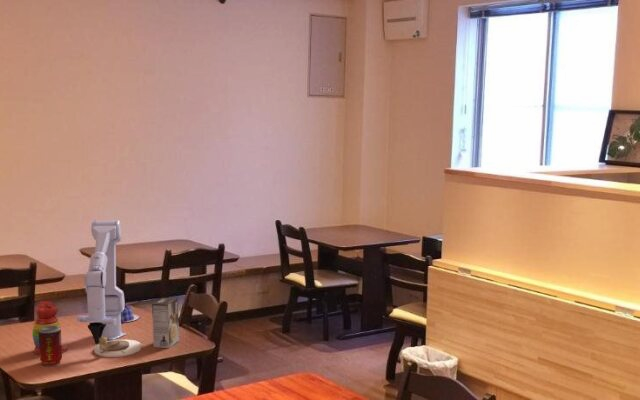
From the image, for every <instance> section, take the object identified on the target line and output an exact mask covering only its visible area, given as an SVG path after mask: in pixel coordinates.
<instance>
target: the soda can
mask: <svg viewBox="0 0 640 400" xmlns="http://www.w3.org/2000/svg"><path fill="white" fill-rule="evenodd" d="M38 334H39V352H40V355H39V361H40V362H41V363H42V364H43V365H42V366H44V365H46V366H45V367H54V366H53V365H55V366H57V365H60V363H61V361H62V358H63V352H62V345H63V344H62V329H61V327H60V328H59V327H57V326H46V327H43V328H41V329H40V330H39V332H38Z"/></svg>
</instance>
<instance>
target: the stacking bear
mask: <svg viewBox="0 0 640 400" xmlns="http://www.w3.org/2000/svg"><path fill="white" fill-rule="evenodd" d="M35 312H36V316H37V318H36V319H35V321H34V323H33V328H32V340H33V343H34V346H35V347H34V349H33V352H34V353H36V355H38V354H39V356H40V352H39V334H38V332H39V330H40V329H41V328H43V327H46V326H57V327H59V328H60V329H61V325H60V322H59V319H58V318H57V313H58V312H59V309H58V307H57V306H56V305H55V304H54V303H53V302H51V301H43V300H40V301H39V302H38V305H37V306H36V309H35ZM67 351H68V347H67V346H66V345H64V344H62V353H65V352H67Z"/></svg>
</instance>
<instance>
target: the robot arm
mask: <svg viewBox="0 0 640 400" xmlns="http://www.w3.org/2000/svg"><path fill="white" fill-rule="evenodd" d="M121 223H122V222H121V221H120V220H119V219H117V220H116V219H115V220H96V219H94V220H93V221H92V223H91V228H90V229H91V230H90V231H91V232H90V233H91V236H92V238H93V239H94V240H95V247H94V248H95V249H94V253H92V254H91V256H90V258H89V259H90V260H89V263H88V264H89V265H88V268H87V269H88V270H87V272H85V273H84V278H83V279H84V280H83V283H84V287H85V293H86V296H87V297H86V298H87V302H86V303H87V315H82V314H81V315H77V316H76V317H77V318H76V321H77V323H88V325H87V328H88V330H89V331H90V333H91V335H92V337H93V341H94V345H95V346H96V345H98V344H99V338H100V337H107V340H108V341H112V340H118V339H120V338H121V337H124V336H125V335H127V333H126V332H122V322H121V312H123V310H124V307H125V306H126V305H125V304H126V302H125V299H126V298H125V293H124V290H122V289H120V287H118V286H117V257H116V256H117V254H116V253H117V251H116V250H117V249H116V247H117V243H119V242H122V224H121Z"/></svg>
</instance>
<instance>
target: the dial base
mask: <svg viewBox="0 0 640 400" xmlns="http://www.w3.org/2000/svg"><path fill="white" fill-rule="evenodd" d="M116 340H117V339H115V340H107V342H110V341H116ZM121 340H122V341H127V342H129V347H128V348H126V349H122V350H116V351H109V350H101V349H99V344H97V345H96V344H95V346H94V348H93V350H94V351H93V352H94V354H95V355H96V356H99V357H102V358H103V357H104V358H122V357H127V356H131V355H134V354H137V353H138V352H140V351H141V350H142V342H139V341H138V340H134V339H133V340H132V339H121Z"/></svg>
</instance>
